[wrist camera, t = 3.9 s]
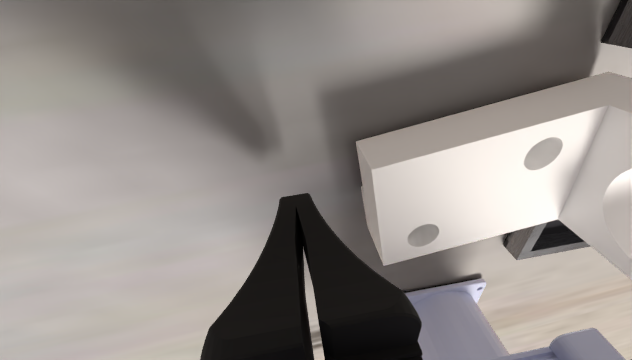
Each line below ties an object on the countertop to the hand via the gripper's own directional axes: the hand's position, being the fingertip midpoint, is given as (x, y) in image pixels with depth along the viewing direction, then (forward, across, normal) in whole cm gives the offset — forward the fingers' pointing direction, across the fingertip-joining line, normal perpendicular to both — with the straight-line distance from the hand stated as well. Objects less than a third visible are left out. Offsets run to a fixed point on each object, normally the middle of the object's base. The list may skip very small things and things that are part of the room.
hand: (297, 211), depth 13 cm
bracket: (+3, -10, +1) cm, 11 cm away
